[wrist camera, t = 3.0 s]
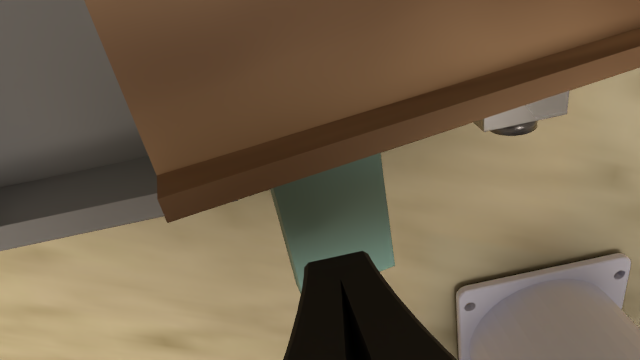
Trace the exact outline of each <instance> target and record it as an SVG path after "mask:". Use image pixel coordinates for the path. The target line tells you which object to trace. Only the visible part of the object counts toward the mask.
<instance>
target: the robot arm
mask: <svg viewBox="0 0 640 360" xmlns="http://www.w3.org/2000/svg"><path fill="white" fill-rule="evenodd" d="M630 267H631V260H630V259H629V258H628V257H627V256H626V255H625V254H623V253H616V254H611V255H607V256H602V257H597V258H593V259H588V260H583V261H579V262H574V263H569V264H565V265H560V266H555V267H551V268H546V269H541V270H537V271H532V272H527V273H523V274H518V275H513V276H508V277H504V278H499V279H494V280H490V281H485V282H480V283H476V284H471V285H466V286H464V287H462V288H460V289H459V290H458V291H457V293H456V307H457V329H458V351H459V360H640V329H639V328H638V326H637V325H636V324H635V323H634V322H633V321H632V320H631V319H630V318H629V317H628V316H627V315H626V314H625V313H624V312H623V311H622V306H623V301H624V296H625V291H626V286H627V281H628V276H629V271H630ZM468 303H470V304H468ZM466 304H468V305H466ZM283 360H457V359H456V358H455V357H454V356H453V355H452V354H451V353H449V352H448V351H447V350H446V349H445V348H444V347H443V346H442V345H441V343H440V342H439V341H438V340H437V339H436V338H435V337H434V336H433V335H432V334H431V333H430V332H429V331H428V330H427V329H426V328H425V327H424V326H423V325H422V324H421V323H420V322H419V320H418V319H417V318H416V317H415V316H414V315H413V314H412V312H411V311H410V310H409V309H408V308H407V307H406V305H405V304H404V303H403V302H402V301H401V300H400V298H399V297H398V296H397V295H396V294H395V292H394V291H393V290H392V288H391V287H390V286H389V284H388V283H387V282H386V281H385V279H384V278H383V276H382V275H381V274H380V272H379V271H378V269H377V268H376V266H375V265H374V263H373V261H372V260H371V258H370V256H369V254H368V253H366V252H364V251H359V252H354V253H350V254H345V255H340V256H336V257H331V258H327V259H322V260H317V261H313V262H308V263H307V265H306V266H305V267H304V278H303V286H302V292H301V297H300V301H299V306H298V311H297V315H296V318H295V322H294V326H293V329H292V333H291V337H290V340H289V344H288V347H287V350H286V353H285V356H284V359H283Z"/></svg>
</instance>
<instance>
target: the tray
mask: <svg viewBox="0 0 640 360" xmlns="http://www.w3.org/2000/svg"><path fill="white" fill-rule="evenodd" d="M235 201H238V200H235ZM232 202H233V201H232ZM163 216H164V214H163V211H162V209H161V207H160V204H159V202H158V200H157V175H156V173H155V170H154V168H153V165H152V163H151V161H150V158H149V156H148V153H147V151H146V149H145V146H144V144H143V141H142V139H141V136H140V134H139V132H138V129H137V127H136V124H135V122H134V120H133V117H132V115H131V112H130V110H129V107H128V105H127V103H126V100H125V98H124V95H123V93H122V91H121V88H120V86H119V83H118V81H117V79H116V76H115V74H114V71H113V69H112V66H111V64H110V62H109V59H108V57H107V54H106V52H105V50H104V47H103V45H102V42H101V40H100V38H99V35H98V33H97V30H96V28H95V25H94V23H93V21H92V18H91V16H90V13H89V11H88V9H87V6H86V4H85V1H84V0H0V251H3V250H8V249H12V248H17V247H22V246H26V245H31V244H36V243H41V242H45V241H50V240H55V239H59V238H64V237H69V236H73V235H78V234H83V233H88V232H92V231H97V230H102V229H106V228H111V227H116V226H121V225H125V224H130V223H135V222H139V221H144V220H149V219H153V218H158V217H163Z"/></svg>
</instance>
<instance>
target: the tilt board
mask: <svg viewBox="0 0 640 360" xmlns="http://www.w3.org/2000/svg"><path fill="white" fill-rule="evenodd" d="M84 1H85V4H86V6H87V9H88V11H89V13H90V16H91V18H92V21H93V23H94V25H95V28H96V30H97V33H98V35H99V38H100V40H101V42H102V45H103V47H104V50H105V52H106V54H107V57H108V59H109V62H110V64H111V66H112V69H113V71H114V74H115V76H116V79H117V81H118V83H119V86H120V88H121V91H122V93H123V95H124V98H125V100H126V103H127V105H128V107H129V110H130V112H131V115H132V117H133V120H134V122H135V124H136V127H137V129H138V132H139V134H140V136H141V139H142V141H143V144H144V146H145V149H146V151H147V153H148V156H149V158H150V161H151V163H152V165H153V168H154V170H155V173H156V175H157V200H158V202H159V204H160V207H161V209H162V211H163V214H164V216H165V218H166V221H167V223H169V222H172V221H175V220H178V219H181V218H184V217H187V216H190V215H193V214H196V213H199V212H202V211H205V210H208V209H211V208H214V207H217V206H220V205H223V204H226V203H229V202H232V201H235V200H238V199H241V198H244V197H248V196H251V195H254V194H257V193H260V192H263V191H266V190H269V189H270V190H271V193H272V197H273V201H274V204H275V208H276V212H277V215H278V219H279V222H280V226H281V230H282V233H283V237H284V240H285V244H286V248H287V251H288V255H289V259H290V262H291V266H292V269H293V273H294V277H295V280H296V284H297V286H298V288H299V291H300V293H301V292H302V286H303V278H304V267H305V266H306V265H307V263H308V262H313V261H317V260H322V259H327V258H331V257H336V256H340V255H345V254H350V253H354V252H359V251H364V252H366V253H368V254H369V256H370V258H371V260H372V261H373V263H374V265H375V266H376V268H377V269H378V271H379V272H380V271H382V270H385V269H388V268H390V267H393V266H395V262H394V255H393V247H392V239H391V232H390V224H389V216H388V208H387V201H386V193H385V185H384V178H383V170H382V162H381V155H380V153H381V152H384V151H387V150H390V149H393V148H396V147H399V146H402V145H406V144H409V143H412V142H415V141H418V140H421V139H424V138H427V137H430V136H433V135H436V134H439V133H442V132H445V131H448V130H451V129H454V128H457V127H460V126H463V125H466V124H469V123H472V122H475V121H478V120H481V119H485V118H488V117H491V116H494V115H497V114H500V113H503V112H506V111H509V110H512V109H515V108H518V107H521V106H524V105H527V104H530V103H533V102H536V101H539V100H542V99H545V98H548V97H551V96H554V95H557V94H560V93H564V92H567V91H570V90H573V89H576V88H579V87H582V86H585V85H588V84H591V83H594V82H597V81H600V80H603V79H606V78H609V77H612V76H615V75H618V74H621V73H624V72H627V71H630V70H633V69H636V68H639V67H640V0H84Z"/></svg>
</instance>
